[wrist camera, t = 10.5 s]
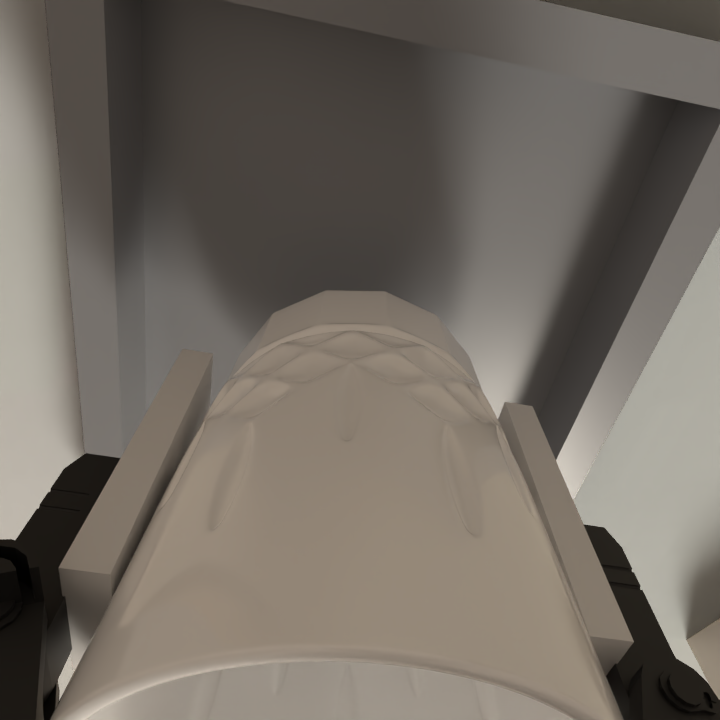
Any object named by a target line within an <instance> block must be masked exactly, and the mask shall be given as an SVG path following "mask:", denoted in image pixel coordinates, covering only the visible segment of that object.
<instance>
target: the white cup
mask: <svg viewBox="0 0 720 720" xmlns="http://www.w3.org/2000/svg"><path fill="white" fill-rule="evenodd" d="M50 720H624V718H623V716H622V713H621V711H620V709H619V706H618V704H617V701H616V699H615V697H614V694H613V692H612V689H611V687H610V685H609V682H608V680H607V677H606V675H605V673H604V670H603V668H602V665H601V663H600V660H599V658H598V656H597V653H596V651H595V648H594V646H593V644H592V641H591V639H590V636H589V634H588V632H587V629H586V627H585V624H584V622H583V619H582V617H581V615H580V612H579V610H578V607H577V605H576V602H575V600H574V598H573V595H572V593H571V590H570V588H569V585H568V583H567V580H566V578H565V575H564V573H563V571H562V568H561V566H560V563H559V561H558V558H557V556H556V553H555V551H554V548H553V546H552V544H551V541H550V539H549V536H548V534H547V531H546V529H545V526H544V524H543V521H542V519H541V517H540V514H539V512H538V509H537V507H536V504H535V502H534V499H533V497H532V495H531V492H530V490H529V487H528V485H527V483H526V481H525V478H524V476H523V474H522V472H521V470H520V468H519V465H518V463H517V461H516V459H515V457H514V455H513V453H512V452H511V449H510V447H509V444H508V441H507V438H506V436H505V433H504V431H503V429H502V427H501V425H500V423H499V421H498V419H497V417H496V415H495V413H494V411H493V409H492V407H491V405H490V403H489V402H488V400H487V398H486V396H485V395H484V393H483V391H482V388H481V386H480V383H479V381H478V378H477V375H476V373H475V370H474V367H473V365H472V362H471V360H470V357H469V356H468V354H467V353H466V352H465V350H464V349H463V348H462V347H461V345H460V344H459V343H458V341H457V340H456V339H455V338H454V336H453V335H452V334H451V333H450V331H449V330H448V329H447V327H446V326H445V325H444V324H443V322H442V321H441V320H440V319H439V317H438V316H437V315H435V314H433V313H431V312H429V311H427V310H424V309H422V308H420V307H418V306H416V305H414V304H412V303H409V302H407V301H405V300H403V299H401V298H399V297H397V296H394V295H392V294H390V293H388V292H386V291H344V290H325V291H323V292H320V293H318V294H316V295H313V296H311V297H309V298H306V299H304V300H302V301H299V302H297V303H295V304H293V305H290V306H288V307H286V308H283V309H281V310H279V311H276V312H274V313H273V314H272V315H271V316H270V317H269V319H268V320H267V321H266V322H265V324H264V325H263V326H262V327H261V328H260V330H259V331H258V332H257V333H256V334H255V336H254V337H253V338H252V339H251V341H250V342H249V343H248V344H247V345H246V347H245V348H244V349H243V350H242V352H241V353H240V355H239V357H238V359H237V361H236V363H235V365H234V367H233V370H232V372H231V374H230V376H229V378H228V380H227V382H226V383H225V385H224V386H223V387H222V389H221V390H220V392H219V393H218V395H217V397H216V398H215V400H214V401H213V403H212V405H211V407H210V408H209V410H208V412H207V414H206V416H205V417H204V419H203V421H202V423H201V425H200V427H199V429H198V432H197V434H196V435H195V437H194V439H193V440H192V442H191V444H190V445H189V447H188V449H187V450H186V452H185V454H184V456H183V458H182V459H181V461H180V463H179V465H178V467H177V469H176V471H175V473H174V475H173V476H172V478H171V480H170V482H169V484H168V486H167V488H166V490H165V492H164V494H163V496H162V498H161V500H160V502H159V504H158V506H157V508H156V510H155V512H154V514H153V516H152V518H151V520H150V522H149V524H148V526H147V528H146V530H145V532H144V534H143V536H142V538H141V540H140V542H139V544H138V546H137V548H136V550H135V552H134V554H133V556H132V558H131V560H130V562H129V564H128V566H127V568H126V570H125V572H124V574H123V576H122V578H121V580H120V582H119V584H118V586H117V588H116V590H115V592H114V594H113V596H112V598H111V600H110V602H109V604H108V606H107V608H106V610H105V612H104V614H103V616H102V618H101V620H100V622H99V624H98V626H97V628H96V630H95V632H94V634H93V636H92V638H91V640H90V642H89V644H88V646H87V648H86V650H85V652H84V654H83V656H82V658H81V659H80V661H79V663H78V665H77V667H76V669H75V671H74V673H73V675H72V677H71V679H70V681H69V683H68V685H67V687H66V689H65V691H64V693H63V695H62V697H61V699H60V701H59V703H58V705H57V707H56V709H55V710H54V712H53V714H52V716H51V718H50Z"/></svg>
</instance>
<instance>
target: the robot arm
mask: <svg viewBox="0 0 720 720" xmlns="http://www.w3.org/2000/svg"><path fill="white" fill-rule="evenodd" d="M212 365H213V354H212V353H206V352H200V351H194V350H187V349H182V351H181V353H180V354H179V356H178V358H177V360H176V361H175V363H174V365H173V367H172V369H171V370H170V372H169V374H168V376H167V377H166V379H165V381H164V383H163V384H162V386H161V388H160V390H159V391H158V393H157V395H156V397H155V398H154V400H153V402H152V404H151V406H150V407H149V409H148V411H147V413H146V414H145V416H144V418H143V420H142V421H141V423H140V425H139V427H138V428H137V430H136V432H135V434H134V436H133V437H132V439H131V441H130V443H129V444H128V446H127V448H126V450H125V451H124V453H123V455H122V457H121V458H116V457H109V456H102V455H96V454H89V453H86V454H84V455H83V456H81V457H80V458H79V459H77V460H76V461H74V462H73V463H72V464H70V465H69V466H67V467H66V468H65V469H64V470H63V471H62V473H61V474H60V476H59V477H58V479H57V480H56V482H55V483H54V485H53V486H52V488H51V491H50V492H48V493H47V495H46V496H45V498H44V499H43V501H42V502H41V504H40V507H39V509H37V510H36V511H35V513H34V514H33V515H32V517H31V518H30V520H29V521H28V523H27V524H26V526H25V527H24V529H23V530H22V532H21V533H20V535H19V536H18V538H17V539H16V540H12V539H7V540H0V720H50V718H51V716H52V714H53V712H54V710H55V709H56V707H57V705H58V703H59V686H58V678H59V676H60V674H61V672H62V670H63V667H64V665H65V663H66V661H67V659H68V657H69V655H71V662H72V670H75V669H76V667H77V665H78V663H79V661H80V659H81V658H82V656H83V654H84V652H85V650H86V648H87V646H88V644H89V642H90V640H91V638H92V636H93V634H94V632H95V630H96V628H97V626H98V624H99V622H100V620H101V618H102V616H103V614H104V612H105V610H106V608H107V606H108V604H109V602H110V600H111V598H112V596H113V594H114V592H115V590H116V588H117V586H118V584H119V582H120V580H121V578H122V576H123V574H124V572H125V570H126V568H127V566H128V564H129V562H130V560H131V558H132V556H133V554H134V552H135V550H136V548H137V546H138V544H139V542H140V540H141V538H142V536H143V534H144V532H145V530H146V528H147V526H148V524H149V522H150V520H151V518H152V516H153V514H154V512H155V510H156V508H157V506H158V504H159V502H160V500H161V498H162V496H163V494H164V492H165V490H166V488H167V486H168V484H169V482H170V480H171V478H172V476H173V475H174V473H175V471H176V469H177V467H178V465H179V463H180V461H181V459H182V458H183V456H184V454H185V452H186V450H187V449H188V447H189V445H190V444H191V442H192V440H193V439H194V437H195V435H196V434H197V432H198V429H199V427H200V425H201V423H202V421H203V419H204V417H205V416H206V414H207V412H208V410H209V408H210V397H211V381H212ZM498 421H499V423H500V425H501V427H502V429H503V431H504V433H505V436H506V438H507V441H508V444H509V447H510V449H511V452H512V453H513V455H514V457H515V459H516V461H517V463H518V465H519V468H520V470H521V472H522V474H523V476H524V478H525V481H526V483H527V485H528V487H529V490H530V492H531V495H532V497H533V499H534V502H535V504H536V507H537V509H538V512H539V514H540V517H541V519H542V521H543V524H544V526H545V529H546V531H547V534H548V536H549V539H550V541H551V544H552V546H553V548H554V551H555V553H556V556H557V558H558V561H559V563H560V566H561V568H562V571H563V573H564V575H565V578H566V580H567V583H568V585H569V588H570V590H571V593H572V595H573V598H574V600H575V602H576V605H577V607H578V610H579V612H580V615H581V617H582V619H583V622H584V624H585V627H586V629H587V632H588V634H589V636H590V639H591V641H592V644H593V646H594V648H595V651H596V653H597V656H598V658H599V660H600V663H601V665H602V668H603V670H604V673H605V675H606V677H607V680H608V682H609V685H610V687H611V689H612V692H613V694H614V697H615V699H616V701H617V704H618V706H619V709H620V711H621V713H622V716H623V718H624V720H720V700H719V699H718V697H717V696H716V694H715V693H714V691H713V690H712V688H711V687H710V686H709V684H708V683H707V682H706V681H705V680H704V679H703V678H702V677H701V676H700V675H699V674H698V673H697V672H696V671H695V670H694V669H693V668H691V667H689V666H688V665H686V664H684V663H683V662H681V661H679V660H678V659H676V658H675V656H674V654H673V652H672V650H671V648H670V646H669V644H668V642H667V640H666V638H665V636H664V634H663V632H662V629H661V627H660V625H659V623H658V621H657V619H656V617H655V615H654V613H653V611H652V609H651V607H650V605H649V603H648V601H647V599H646V596H645V594H644V592H643V590H640V584H639V582H638V580H637V578H636V576H635V574H634V573H633V572H632V568H631V566H630V563H629V561H628V559H627V557H626V555H625V553H624V551H623V549H622V547H621V546H620V545H619V544H618V543H617V542H616V540H615V539H614V538H613V537H612V536H611V535H610V534H609V533H608V531H607V530H606V529H605V528H604V527H597V526H590V525H583V522H582V520H581V518H580V515H579V513H578V511H577V508H576V506H575V504H574V501H573V499H572V497H571V494H570V492H569V490H568V487H567V485H566V483H565V480H564V478H563V476H562V474H561V471H560V469H559V467H558V464H557V462H556V460H555V457H554V455H553V453H552V450H551V448H550V446H549V443H548V441H547V439H546V436H545V434H544V432H543V429H542V427H541V425H540V422H539V420H538V418H537V415H536V413H535V411H534V409H533V406H528V405H522V404H516V403H510V402H505V403H504V406H503V408H502V411H501V413H500V416H499V418H498Z"/></svg>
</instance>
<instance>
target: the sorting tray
mask: <svg viewBox="0 0 720 720" xmlns="http://www.w3.org/2000/svg"><path fill="white" fill-rule="evenodd" d="M45 7H46V19H47V30H48V42H49V53H50V64H51V76H52V87H53V98H54V110H55V121H56V133H57V144H58V155H59V167H60V178H61V189H62V201H63V212H64V224H65V235H66V246H67V258H68V269H69V280H70V292H71V303H72V314H73V326H74V337H75V349H76V360H77V371H78V383H79V394H80V405H81V417H82V428H83V440H84V451H85V454H86V453H89V454H96V455H102V456H109V457H116V458H121V457H122V455H123V453H124V451H125V450H126V448H127V446H128V444H129V443H130V441H131V439H132V437H133V436H134V434H135V432H136V430H137V428H138V427H139V425H140V423H141V421H142V420H143V418H144V416H145V414H146V413H147V411H148V409H149V407H150V406H151V404H152V402H153V400H154V398H155V397H156V395H157V393H158V391H159V390H160V388H161V386H162V384H163V383H164V381H165V379H166V377H167V376H168V374H169V372H170V370H171V369H172V367H173V365H174V363H175V361H176V360H177V358H178V356H179V354H180V353H181V351H182V349H187V350H194V351H200V352H206V353H212V354H213V365H212V381H211V397H210V407H211V405H212V403H213V401H214V400H215V398H216V397H217V395H218V393H219V392H220V390H221V389H222V387H223V386H224V385H225V383H226V382H227V380H228V378H229V376H230V374H231V372H232V370H233V367H234V365H235V363H236V361H237V359H238V357H239V355H240V353H241V352H242V350H243V349H244V348H245V347H246V345H247V344H248V343H249V342H250V341H251V339H252V338H253V337H254V336H255V334H256V333H257V332H258V331H259V330H260V328H261V327H262V326H263V325H264V324H265V322H266V321H267V320H268V319H269V317H270V316H271V315H272V314H273V313H274V312H276V311H279V310H281V309H283V308H286V307H288V306H290V305H293V304H295V303H297V302H299V301H302V300H304V299H306V298H309V297H311V296H313V295H316V294H318V293H320V292H323V291H325V290H344V291H386V292H388V293H390V294H392V295H394V296H397V297H399V298H401V299H403V300H405V301H407V302H409V303H412V304H414V305H416V306H418V307H420V308H422V309H424V310H427V311H429V312H431V313H433V314H435V315H437V316H438V317H439V319H440V320H441V321H442V322H443V324H444V325H445V326H446V327H447V329H448V330H449V331H450V333H451V334H452V335H453V336H454V338H455V339H456V340H457V341H458V343H459V344H460V345H461V347H462V348H463V349H464V350H465V352H466V353H467V354H468V356H469V357H470V360H471V362H472V365H473V367H474V370H475V373H476V375H477V378H478V381H479V383H480V386H481V388H482V391H483V393H484V395H485V396H486V398H487V400H488V402H489V403H490V405H491V407H492V409H493V411H494V413H495V415H496V417H497V419H498V418H499V416H500V413H501V411H502V408H503V406H504V403H505V402H510V403H516V404H522V405H528V406H533V409H534V411H535V413H536V415H537V418H538V420H539V422H540V425H541V427H542V429H543V432H544V434H545V436H546V439H547V441H548V443H549V446H550V448H551V450H552V453H553V455H554V457H555V460H556V462H557V464H558V467H559V469H560V471H561V474H562V476H563V478H564V480H565V483H566V485H567V487H568V490H569V492H570V494H571V497H572V499H573V500H574V498H575V497H576V495H577V493H578V491H579V489H580V487H581V485H582V483H583V482H584V480H585V478H586V476H587V474H588V472H589V470H590V468H591V467H592V465H593V463H594V461H595V459H596V457H597V455H598V453H599V452H600V450H601V448H602V446H603V444H604V442H605V440H606V439H607V437H608V435H609V433H610V431H611V429H612V427H613V425H614V424H615V422H616V420H617V418H618V416H619V414H620V412H621V410H622V409H623V407H624V405H625V403H626V401H627V399H628V397H629V395H630V394H631V392H632V390H633V388H634V386H635V384H636V382H637V381H638V379H639V377H640V375H641V373H642V371H643V369H644V367H645V366H646V364H647V362H648V360H649V358H650V356H651V354H652V352H653V351H654V349H655V347H656V345H657V343H658V341H659V339H660V337H661V336H662V334H663V332H664V330H665V328H666V326H667V324H668V323H669V321H670V319H671V317H672V315H673V313H674V311H675V309H676V308H677V306H678V304H679V302H680V300H681V298H682V296H683V294H684V293H685V291H686V289H687V287H688V285H689V283H690V281H691V279H692V278H693V276H694V274H695V272H696V270H697V268H698V266H699V265H700V263H701V261H702V259H703V257H704V255H705V253H706V251H707V250H708V248H709V246H710V244H711V242H712V240H713V238H714V236H715V235H716V233H717V231H718V229H719V227H720V42H718V41H714V40H709V39H705V38H701V37H696V36H692V35H688V34H683V33H679V32H675V31H670V30H666V29H662V28H657V27H653V26H649V25H644V24H640V23H636V22H631V21H627V20H623V19H618V18H614V17H610V16H605V15H601V14H596V13H592V12H588V11H583V10H579V9H575V8H570V7H566V6H562V5H557V4H553V3H549V2H544V1H540V0H45Z"/></svg>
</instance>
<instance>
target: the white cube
mask: <svg viewBox="0 0 720 720" xmlns="http://www.w3.org/2000/svg"><path fill="white" fill-rule="evenodd" d="M687 642H688V644H689V646H690V648H691V650H692V652H693V654H694V656H695V658H696V659H697V661H698V663H699V665H700V667H701V669H702V671H703V673H704V675H705V677H706V679H707V681H708V683H709V685H710V687H711V688H712V690H713V691H714V693H715V694H716V696H717V697H718V699H719V700H720V619H718V620H716V621H715V622H713V623H712V624H710V625H709V626H707V627H706V628H704V629H703V630H701V631H699V632H698V633H696V634H695V635H693V636H692V637H690V638H689V639H687Z"/></svg>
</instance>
